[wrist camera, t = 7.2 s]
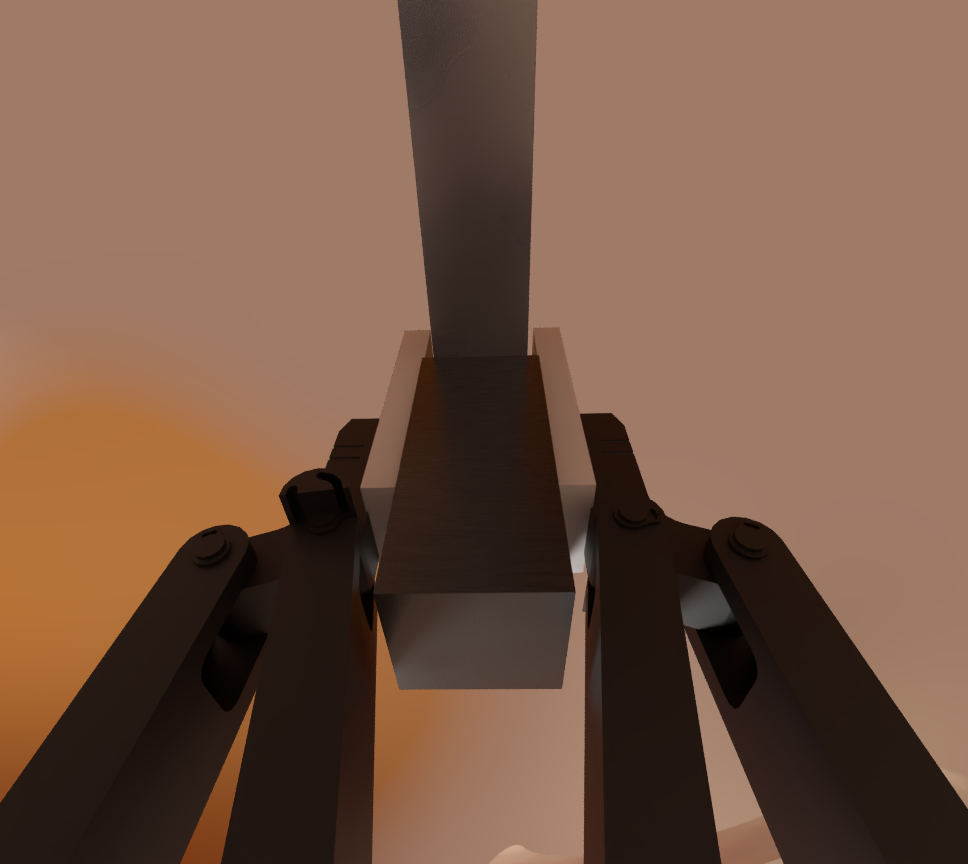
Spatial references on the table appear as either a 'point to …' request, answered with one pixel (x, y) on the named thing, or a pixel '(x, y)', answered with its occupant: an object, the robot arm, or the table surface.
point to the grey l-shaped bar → (475, 376)
